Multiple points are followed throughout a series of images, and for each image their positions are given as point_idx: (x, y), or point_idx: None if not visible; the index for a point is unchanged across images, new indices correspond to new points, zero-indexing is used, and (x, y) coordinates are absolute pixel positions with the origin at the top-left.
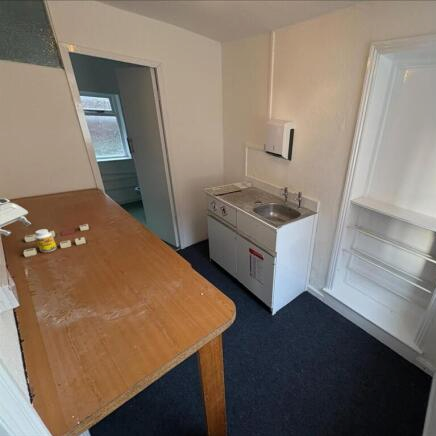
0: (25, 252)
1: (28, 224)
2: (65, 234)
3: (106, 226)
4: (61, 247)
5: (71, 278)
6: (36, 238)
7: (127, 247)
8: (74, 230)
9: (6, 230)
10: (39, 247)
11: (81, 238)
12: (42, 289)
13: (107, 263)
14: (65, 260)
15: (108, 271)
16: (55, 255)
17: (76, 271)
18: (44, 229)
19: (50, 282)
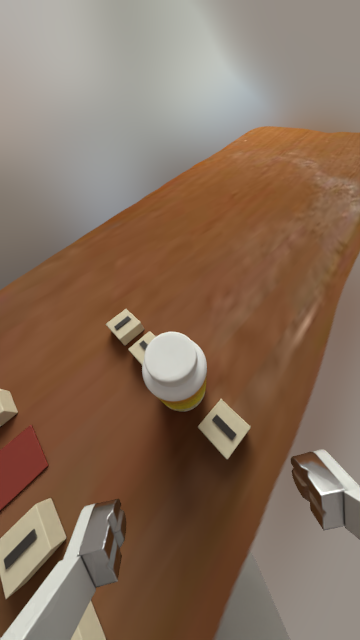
0: (242, 426)
1: (114, 500)
2: (42, 453)
3: (3, 347)
4: None
5: (277, 233)
6: (206, 368)
7: (153, 229)
8: (1, 450)
9: (341, 489)
10: (204, 390)
11: (117, 322)
12: (325, 244)
13: (216, 221)
14: (227, 289)
15: (238, 208)
16: (211, 333)
17: (256, 241)
18: (151, 355)
19: (304, 250)
